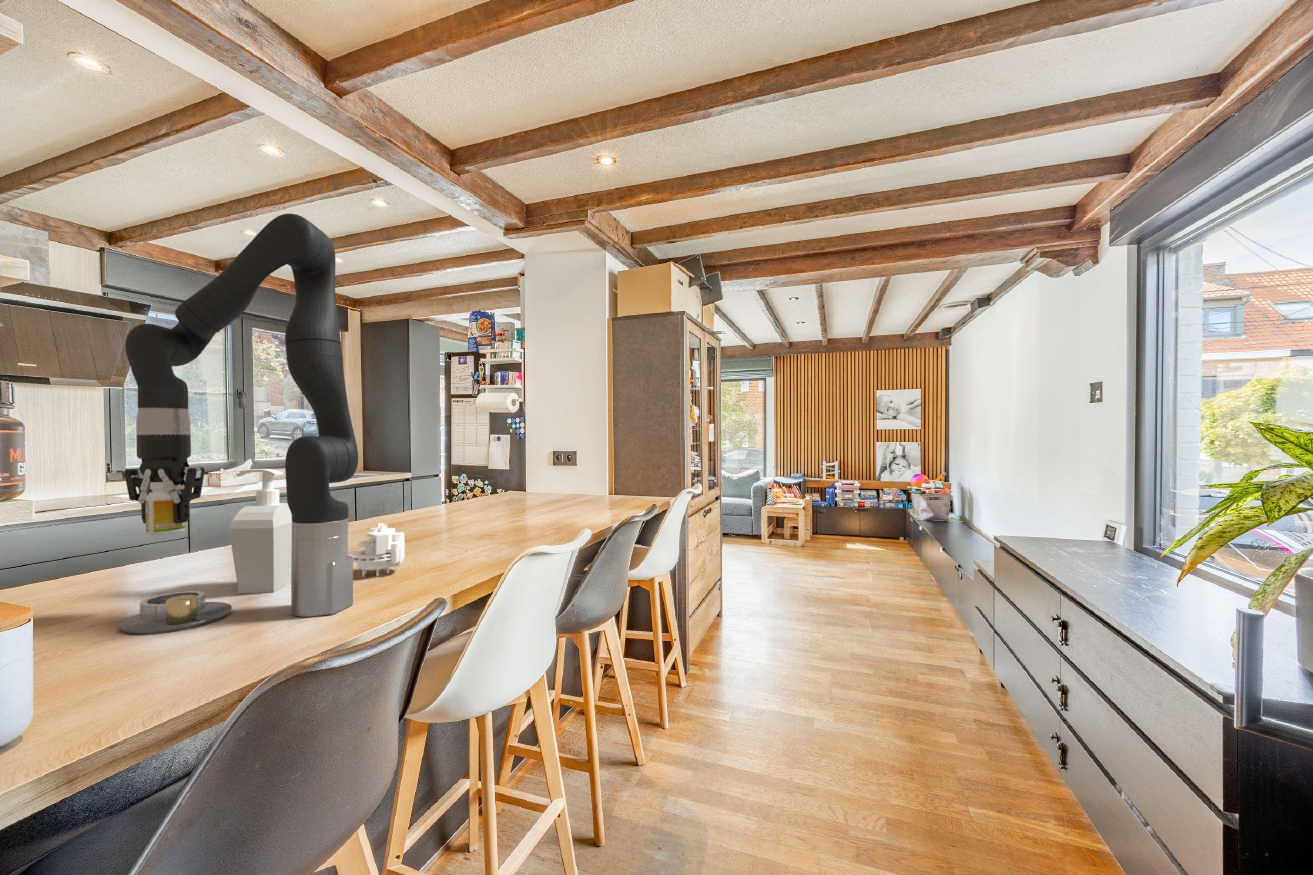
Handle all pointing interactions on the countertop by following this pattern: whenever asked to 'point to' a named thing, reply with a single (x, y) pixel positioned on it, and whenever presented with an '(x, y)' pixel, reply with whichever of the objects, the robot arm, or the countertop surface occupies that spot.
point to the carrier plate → (162, 628)
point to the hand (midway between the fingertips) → (165, 522)
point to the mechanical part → (380, 550)
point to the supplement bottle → (161, 512)
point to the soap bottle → (262, 540)
